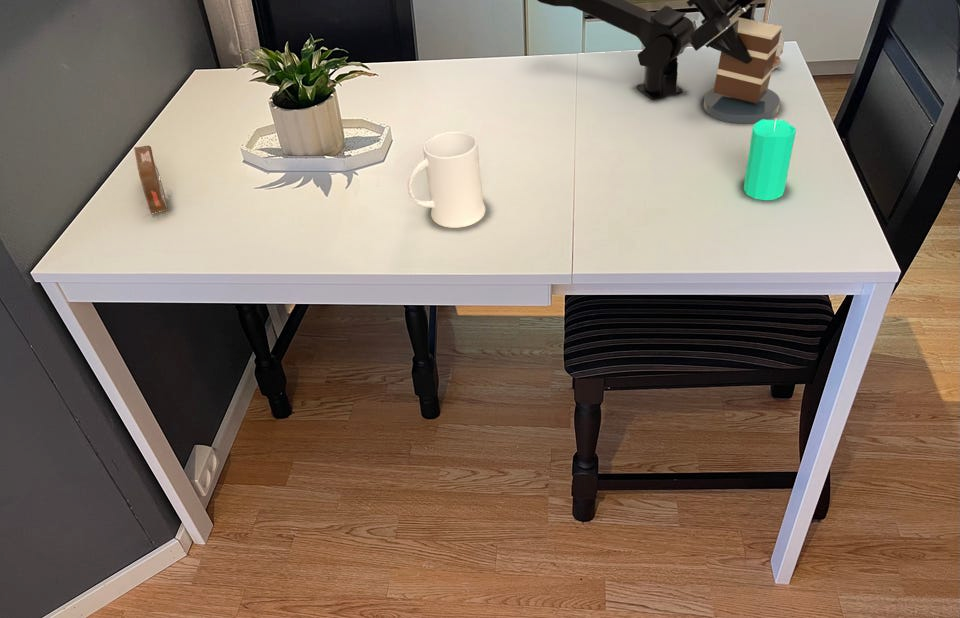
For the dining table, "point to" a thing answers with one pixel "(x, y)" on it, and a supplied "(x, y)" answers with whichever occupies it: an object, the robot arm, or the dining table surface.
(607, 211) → the dining table surface
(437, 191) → the mug
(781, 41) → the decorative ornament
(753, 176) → the candle
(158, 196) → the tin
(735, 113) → the plate
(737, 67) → the cake slice
